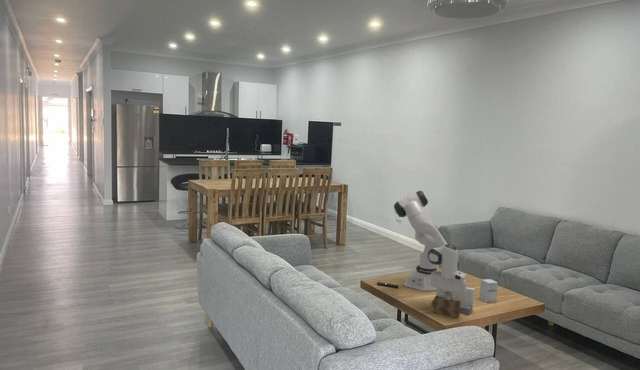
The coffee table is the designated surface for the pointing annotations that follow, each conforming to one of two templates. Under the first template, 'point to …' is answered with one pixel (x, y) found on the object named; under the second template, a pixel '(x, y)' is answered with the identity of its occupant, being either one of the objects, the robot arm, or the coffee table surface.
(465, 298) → the board
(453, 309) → the walnut panel
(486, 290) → the supplement box
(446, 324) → the coffee table surface
